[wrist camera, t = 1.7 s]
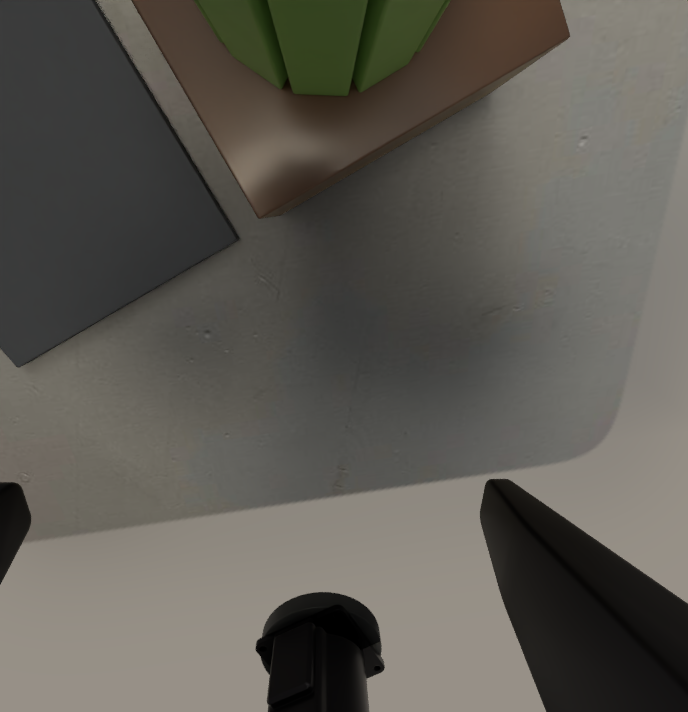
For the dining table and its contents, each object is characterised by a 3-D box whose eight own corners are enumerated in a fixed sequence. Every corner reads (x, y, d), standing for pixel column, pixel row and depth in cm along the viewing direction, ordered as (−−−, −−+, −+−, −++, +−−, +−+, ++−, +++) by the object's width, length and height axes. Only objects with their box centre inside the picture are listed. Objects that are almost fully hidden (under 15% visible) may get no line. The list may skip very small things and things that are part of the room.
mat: (239, 239, 19) (237, 240, 18) (24, 364, 20) (17, 368, 20) (12, -137, 14) (1, -148, 14) (-241, 57, 16) (-258, 52, 15)
